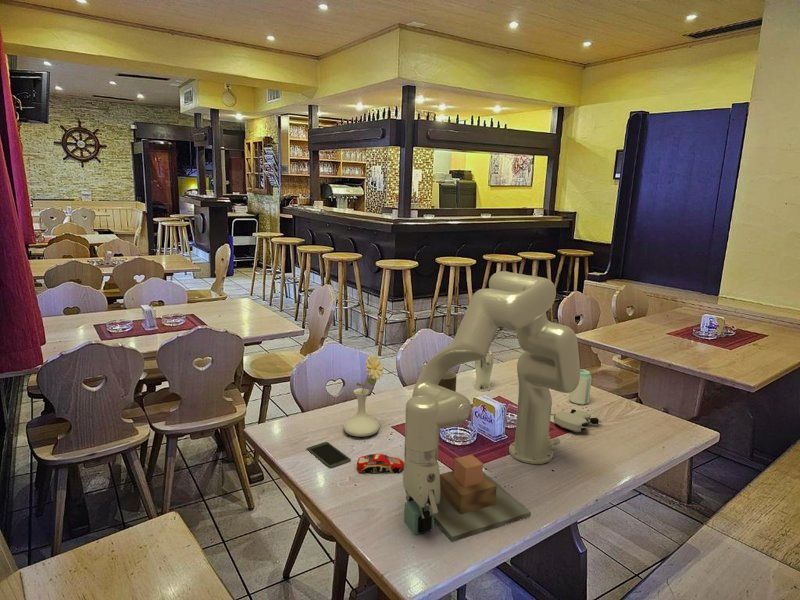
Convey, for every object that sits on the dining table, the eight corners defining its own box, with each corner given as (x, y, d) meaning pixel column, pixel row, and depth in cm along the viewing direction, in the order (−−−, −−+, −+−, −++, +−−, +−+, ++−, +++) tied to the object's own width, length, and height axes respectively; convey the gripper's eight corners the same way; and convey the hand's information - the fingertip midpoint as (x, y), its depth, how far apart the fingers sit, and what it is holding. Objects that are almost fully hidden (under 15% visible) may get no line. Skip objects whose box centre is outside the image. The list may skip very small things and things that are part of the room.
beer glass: (481, 383, 207) (483, 348, 204) (495, 389, 202) (497, 352, 199) (470, 387, 203) (472, 351, 200) (483, 393, 198) (485, 356, 194)
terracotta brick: (470, 472, 129) (471, 454, 128) (482, 482, 125) (483, 464, 124) (453, 476, 127) (454, 458, 126) (464, 487, 123) (465, 468, 122)
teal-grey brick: (422, 516, 121) (423, 497, 120) (433, 528, 117) (434, 509, 116) (404, 521, 119) (404, 502, 118) (414, 534, 115) (414, 514, 114)
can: (564, 399, 193) (567, 369, 191) (579, 397, 196) (582, 367, 194) (578, 406, 187) (581, 375, 185) (592, 403, 190) (596, 373, 188)
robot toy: (571, 416, 181) (546, 425, 171) (572, 404, 180) (548, 412, 170) (603, 429, 172) (579, 438, 162) (605, 416, 171) (581, 425, 161)
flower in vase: (355, 443, 155) (355, 365, 150) (336, 429, 164) (336, 355, 159) (390, 432, 163) (392, 357, 158) (370, 419, 172) (372, 348, 167)
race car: (403, 464, 145) (404, 451, 144) (404, 474, 140) (405, 461, 139) (357, 464, 144) (357, 451, 143) (356, 474, 139) (356, 461, 138)
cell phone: (326, 443, 156) (326, 441, 156) (352, 462, 146) (352, 459, 145) (305, 450, 152) (305, 447, 151) (330, 470, 141) (330, 467, 141)
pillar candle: (447, 419, 174) (449, 377, 171) (422, 412, 179) (424, 371, 176) (459, 409, 182) (461, 369, 179) (435, 403, 187) (437, 364, 184)
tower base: (478, 471, 142) (479, 450, 140) (530, 516, 122) (532, 493, 121) (407, 489, 132) (407, 467, 131) (451, 541, 113) (453, 516, 111)
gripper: (455, 466, 108) (451, 542, 112) (418, 432, 123) (415, 500, 127) (424, 473, 105) (421, 551, 109) (390, 438, 120) (388, 507, 124)
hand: (418, 523), depth 118 cm, fingers closed on teal-grey brick, 5 cm apart
